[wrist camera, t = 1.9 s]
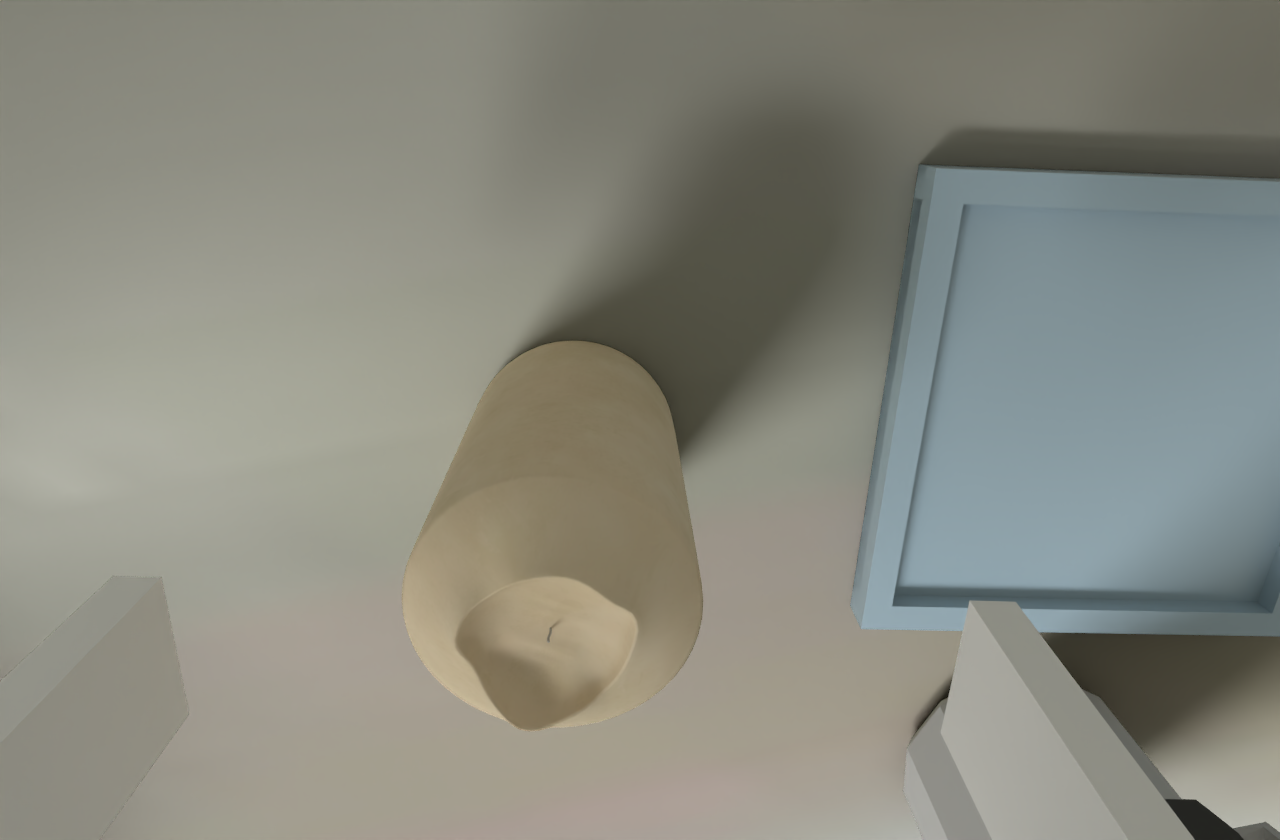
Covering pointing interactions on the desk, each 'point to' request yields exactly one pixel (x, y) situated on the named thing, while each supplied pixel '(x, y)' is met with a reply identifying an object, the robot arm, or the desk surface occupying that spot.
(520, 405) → the candle
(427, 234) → the desk surface
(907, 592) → the tray
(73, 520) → the desk surface
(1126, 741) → the water bottle
